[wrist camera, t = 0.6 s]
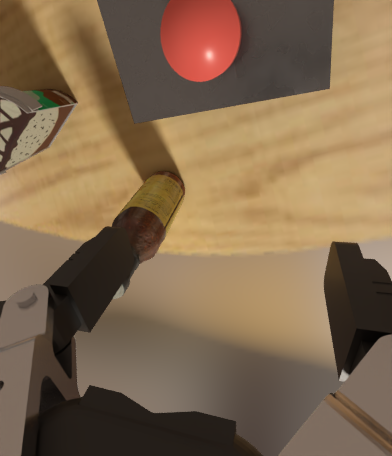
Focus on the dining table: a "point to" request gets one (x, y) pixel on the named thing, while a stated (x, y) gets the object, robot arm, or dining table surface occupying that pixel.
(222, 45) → the red button
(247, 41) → the console
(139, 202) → the sauce bottle
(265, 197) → the dining table surface
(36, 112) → the food container
